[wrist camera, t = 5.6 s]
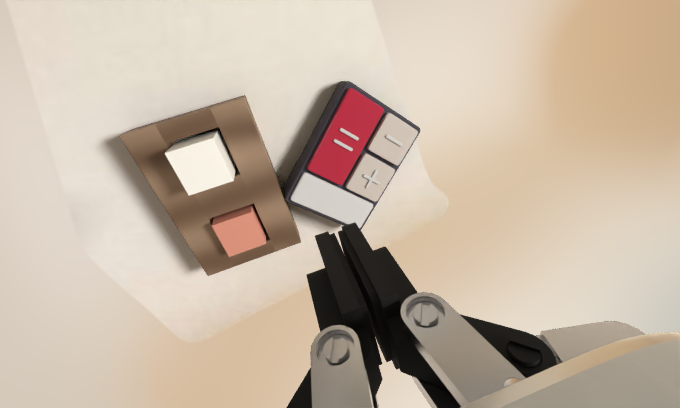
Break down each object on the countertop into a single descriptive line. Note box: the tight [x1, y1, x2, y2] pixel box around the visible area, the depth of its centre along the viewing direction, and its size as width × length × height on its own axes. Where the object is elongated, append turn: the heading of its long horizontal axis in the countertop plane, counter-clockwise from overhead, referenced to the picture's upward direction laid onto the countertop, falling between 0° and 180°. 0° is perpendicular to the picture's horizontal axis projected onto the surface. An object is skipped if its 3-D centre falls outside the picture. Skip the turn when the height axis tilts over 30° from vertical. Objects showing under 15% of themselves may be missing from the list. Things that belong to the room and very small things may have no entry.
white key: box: [165, 130, 236, 196], centre depth 30 cm, size 4×4×4 cm
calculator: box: [283, 81, 420, 230], centre depth 36 cm, size 11×4×15 cm
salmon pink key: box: [212, 203, 266, 257], centre depth 35 cm, size 4×4×4 cm
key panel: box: [120, 95, 301, 276], centre depth 34 cm, size 18×12×3 cm, turn 16°
